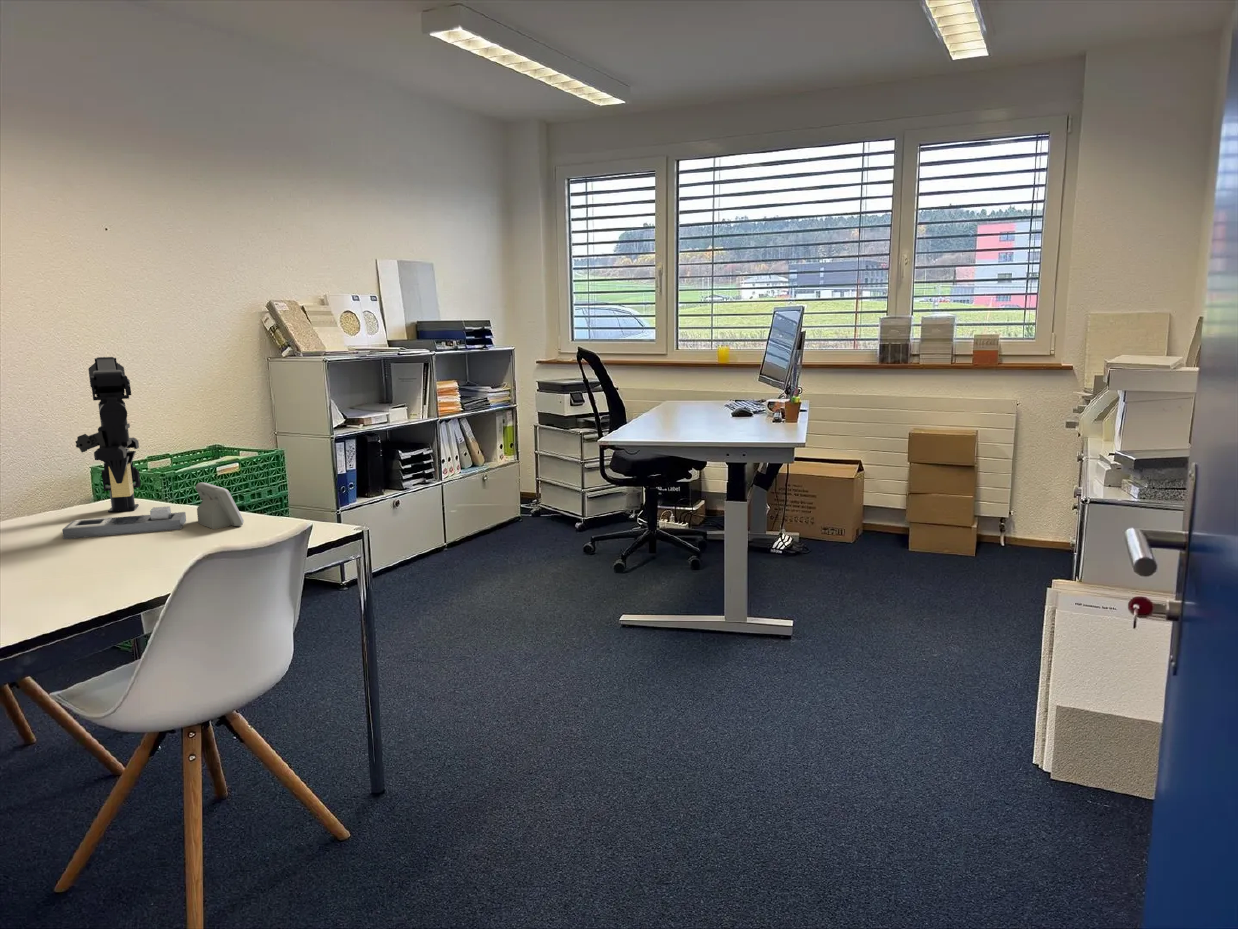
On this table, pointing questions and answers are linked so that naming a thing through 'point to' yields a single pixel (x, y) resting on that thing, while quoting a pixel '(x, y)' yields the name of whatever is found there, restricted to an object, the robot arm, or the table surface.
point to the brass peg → (122, 484)
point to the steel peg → (160, 513)
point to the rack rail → (121, 525)
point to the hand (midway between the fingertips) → (121, 481)
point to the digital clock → (217, 507)
